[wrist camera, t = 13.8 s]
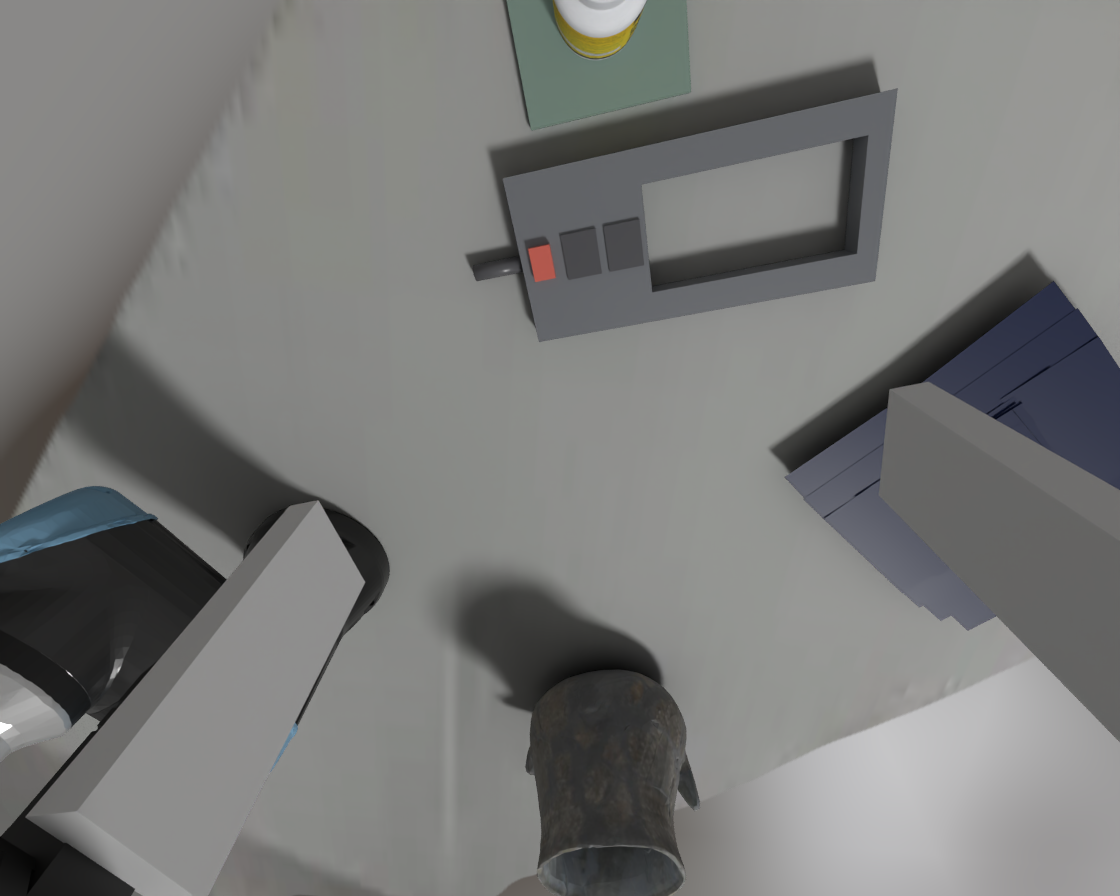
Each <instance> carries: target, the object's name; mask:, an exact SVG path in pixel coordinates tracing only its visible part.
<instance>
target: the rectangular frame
mask: <svg viewBox="0 0 1120 896" xmlns="http://www.w3.org/2000/svg"><path fill="white" fill-rule="evenodd" d="M897 90H898V88H897V89H893V90H888V91H884V92H879V93H875V94H871V95H866V96H862V97H858V98H853V99H849V100H844V101H840V102H836V103H831V104H827V105H822V106H818V107H814V108H809V109H805V110H800V111H796V112H792V113H787V114H783V115H779V116H774V117H770V118H765V119H761V120H757V121H752V122H748V123H743V124H739V125H735V126H730V127H726V128H721V129H717V130H713V131H708V132H704V133H700V134H695V135H691V136H686V137H682V138H678V139H673V140H669V141H664V142H660V143H656V144H651V145H647V146H642V147H638V148H634V149H629V150H625V151H620V152H616V153H612V154H607V155H603V156H599V157H594V158H590V159H585V160H581V161H577V162H572V163H568V164H563V165H559V166H555V167H550V168H546V169H541V170H537V171H533V172H528V173H524V174H520V175H515V176H511V177H506V178H503V183H504V187H505V192H506V196H507V201H508V205H509V210H510V214H511V219H512V223H513V228H514V232H515V237H516V241H517V246H518V250H519V255H520V256H517V257H512V258H507V259H503V260H498V261H493V262H488V263H483V264H478V265H473V273H474V276H475V279H476V281H480V280H485V279H490V278H495V277H500V276H505V275H510V274H515V273H520V272H523V273H524V277H525V282H526V286H527V291H528V295H529V299H530V304H531V308H532V313H533V317H534V322H535V326H536V331H537V335H538V340H539V342H542V341H547V340H553V339H558V338H564V337H569V336H575V335H580V334H586V333H591V332H597V331H602V330H608V329H613V328H619V327H624V326H630V325H635V324H641V323H646V322H652V321H658V320H663V319H669V318H674V317H680V316H685V315H691V314H696V313H702V312H707V311H713V310H718V309H724V308H729V307H735V306H740V305H746V304H751V303H757V302H762V301H768V300H773V299H779V298H784V297H790V296H796V295H801V294H807V293H812V292H818V291H823V290H829V289H834V288H840V287H845V286H851V285H856V284H862V283H867V282H873V281H875V278H876V269H877V261H878V252H879V244H880V235H881V227H882V218H883V209H884V201H885V192H886V184H887V175H888V167H889V158H890V149H891V141H892V132H893V124H894V115H895V107H896V98H897ZM853 138H854V142H853V153H852V165H851V177H850V189H849V201H848V213H847V225H846V236H845V248H844V250H841V251H836V252H831V253H825V254H820V255H815V256H810V257H804V258H799V259H794V260H789V261H783V262H778V263H773V264H768V265H762V266H757V267H752V268H747V269H741V270H736V271H731V272H726V273H720V274H715V275H710V276H705V277H699V278H694V279H689V280H684V281H678V282H673V283H668V284H663V285H657V286H652V285H651V276H650V266H649V256H648V246H647V236H646V226H645V216H644V206H643V196H642V186H641V185H642V184H646V183H651V182H655V181H660V180H665V179H669V178H674V177H678V176H683V175H688V174H692V173H697V172H701V171H706V170H711V169H715V168H720V167H724V166H729V165H733V164H738V163H743V162H747V161H752V160H756V159H761V158H766V157H770V156H775V155H779V154H784V153H789V152H793V151H798V150H802V149H807V148H812V147H816V146H821V145H825V144H830V143H835V142H839V141H844V140H848V139H853Z"/></svg>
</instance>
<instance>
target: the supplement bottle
mask: <svg viewBox="0 0 1120 896" xmlns="http://www.w3.org/2000/svg"><path fill="white" fill-rule="evenodd" d="M646 2H647V0H553V7H554V14H555V20H556V24H557V27H558V30H559V33H560V35H561V37H562V39H563V40H564V42H565V43H566V45H567V46H568V47H569V48H570V49H571V50H572V51H573V52H574V53H575V54H577V55H578V56H580V57H582V58H585V59H589V60H602V59H606V58H609V57H611V56H613V55H615V54H616V53H618V52H619V51H620V50H621V49H622V48H623V47H624V46H625V45H626V44H627V43H628V41H629V40H630V38H631V37H632V35H633V33H634V31H635V29H636V27H637V24H638V22H639V19H640V17H641V14H642V11H643V9H644V6H645V4H646Z"/></svg>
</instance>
